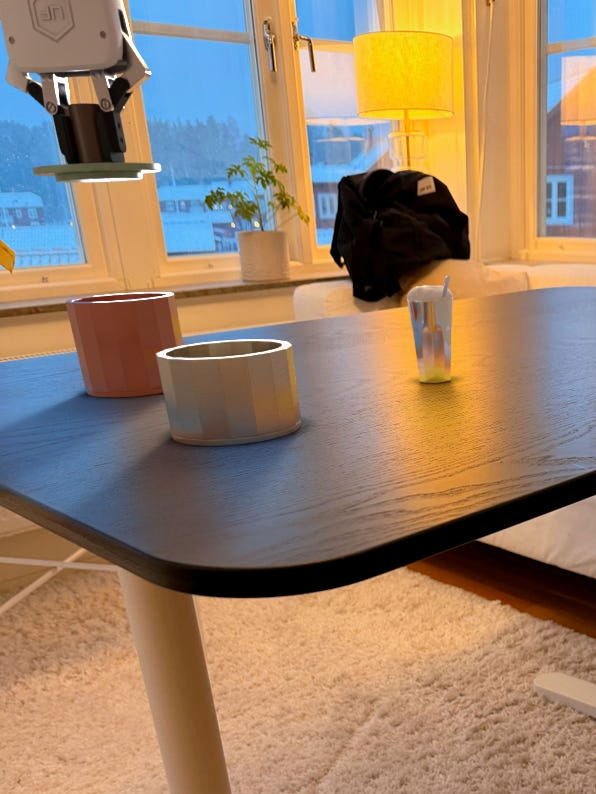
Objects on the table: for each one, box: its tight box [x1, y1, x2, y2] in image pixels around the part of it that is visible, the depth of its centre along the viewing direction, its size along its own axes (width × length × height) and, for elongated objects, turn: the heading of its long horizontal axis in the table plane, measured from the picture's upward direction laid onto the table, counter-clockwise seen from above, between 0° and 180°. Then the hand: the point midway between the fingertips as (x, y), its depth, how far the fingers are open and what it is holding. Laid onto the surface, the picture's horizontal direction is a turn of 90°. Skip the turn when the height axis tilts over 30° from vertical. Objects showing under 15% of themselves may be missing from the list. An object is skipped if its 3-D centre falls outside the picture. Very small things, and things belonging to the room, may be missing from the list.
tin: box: [156, 339, 302, 447], centre depth 72 cm, size 10×10×6 cm
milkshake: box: [406, 275, 454, 384], centre depth 88 cm, size 4×5×10 cm
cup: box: [65, 291, 185, 398], centre depth 92 cm, size 10×10×9 cm
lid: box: [31, 102, 162, 183], centre depth 83 cm, size 11×11×6 cm
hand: (96, 161), depth 84 cm, fingers closed on lid, 3 cm apart
